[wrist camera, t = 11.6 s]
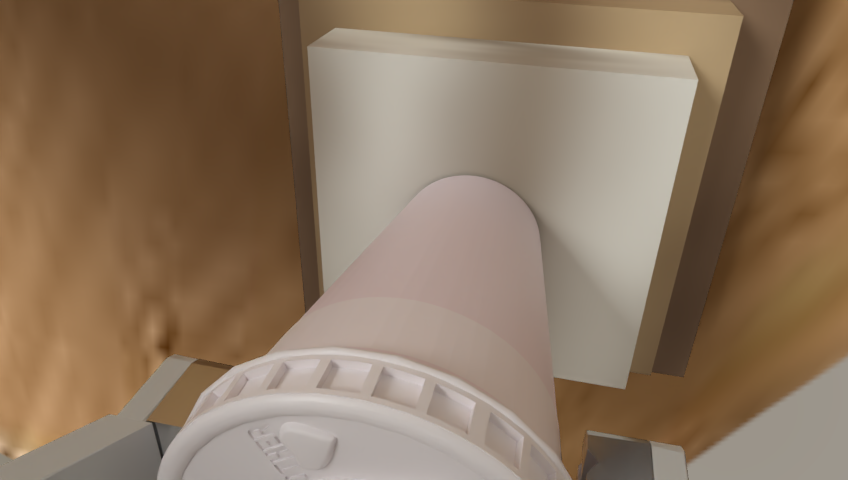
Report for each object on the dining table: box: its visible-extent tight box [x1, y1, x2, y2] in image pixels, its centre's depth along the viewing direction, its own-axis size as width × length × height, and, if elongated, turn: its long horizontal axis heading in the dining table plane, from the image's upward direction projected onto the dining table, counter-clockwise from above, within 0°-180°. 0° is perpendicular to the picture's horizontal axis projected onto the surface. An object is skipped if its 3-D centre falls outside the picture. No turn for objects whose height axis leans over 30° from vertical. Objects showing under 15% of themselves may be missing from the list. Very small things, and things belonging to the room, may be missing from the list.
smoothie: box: [157, 175, 572, 480], centre depth 12 cm, size 6×6×14 cm
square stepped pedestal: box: [278, 0, 794, 389], centre depth 20 cm, size 14×14×6 cm
